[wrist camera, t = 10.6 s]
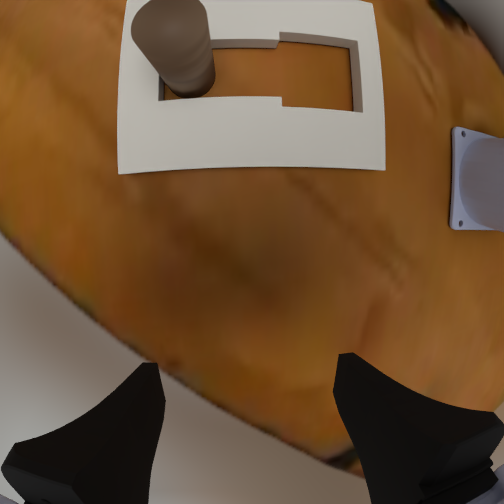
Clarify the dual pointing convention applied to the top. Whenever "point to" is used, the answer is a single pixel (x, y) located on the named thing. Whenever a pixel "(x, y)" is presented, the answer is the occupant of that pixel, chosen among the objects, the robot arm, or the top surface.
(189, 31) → the peg
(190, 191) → the top surface
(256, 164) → the keyhole plate
